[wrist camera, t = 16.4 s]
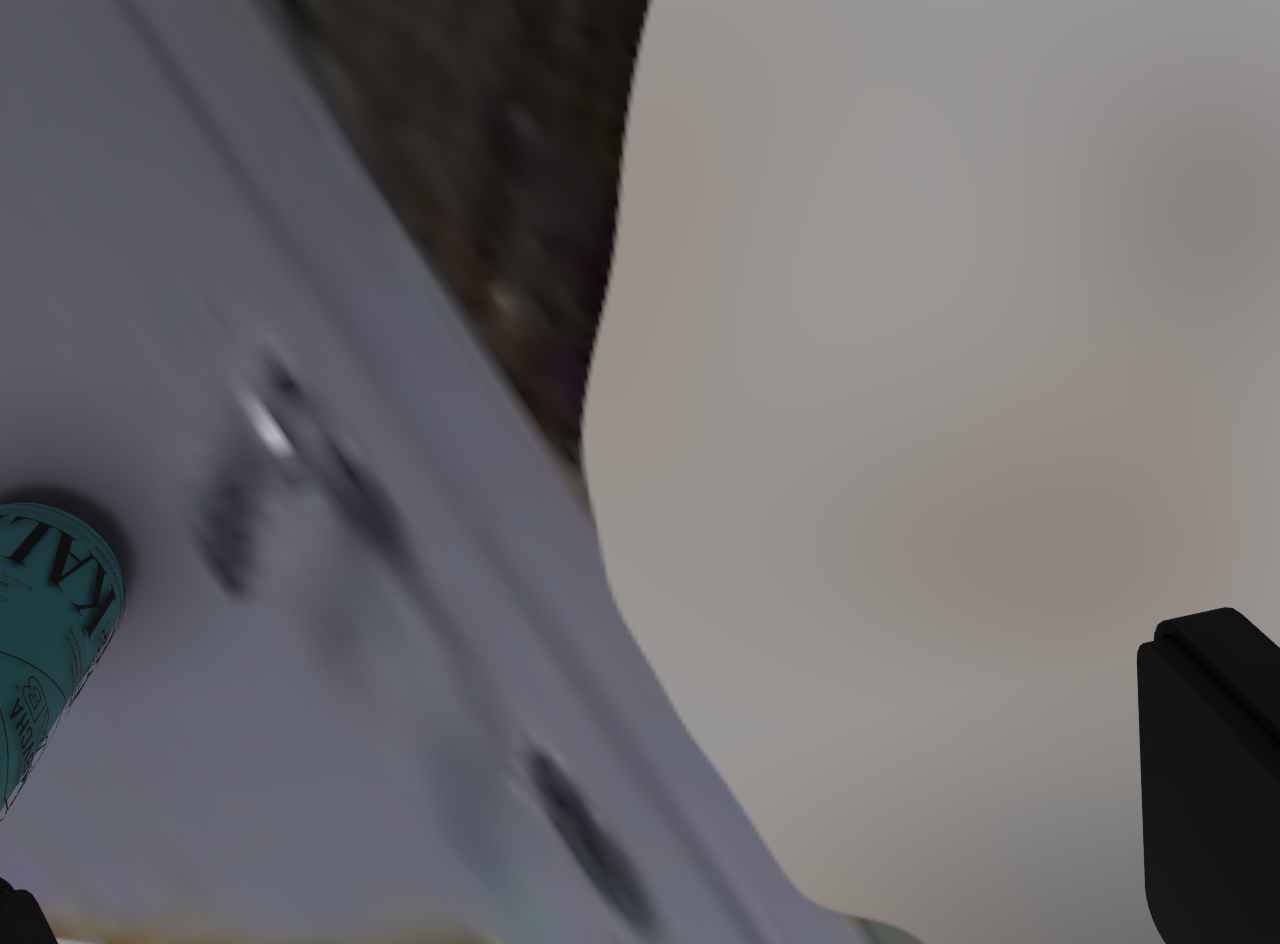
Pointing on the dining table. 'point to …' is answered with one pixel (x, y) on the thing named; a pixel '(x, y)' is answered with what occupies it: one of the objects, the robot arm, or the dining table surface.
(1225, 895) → the robot arm
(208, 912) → the dining table surface
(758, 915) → the dining table surface
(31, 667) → the beverage bottle
